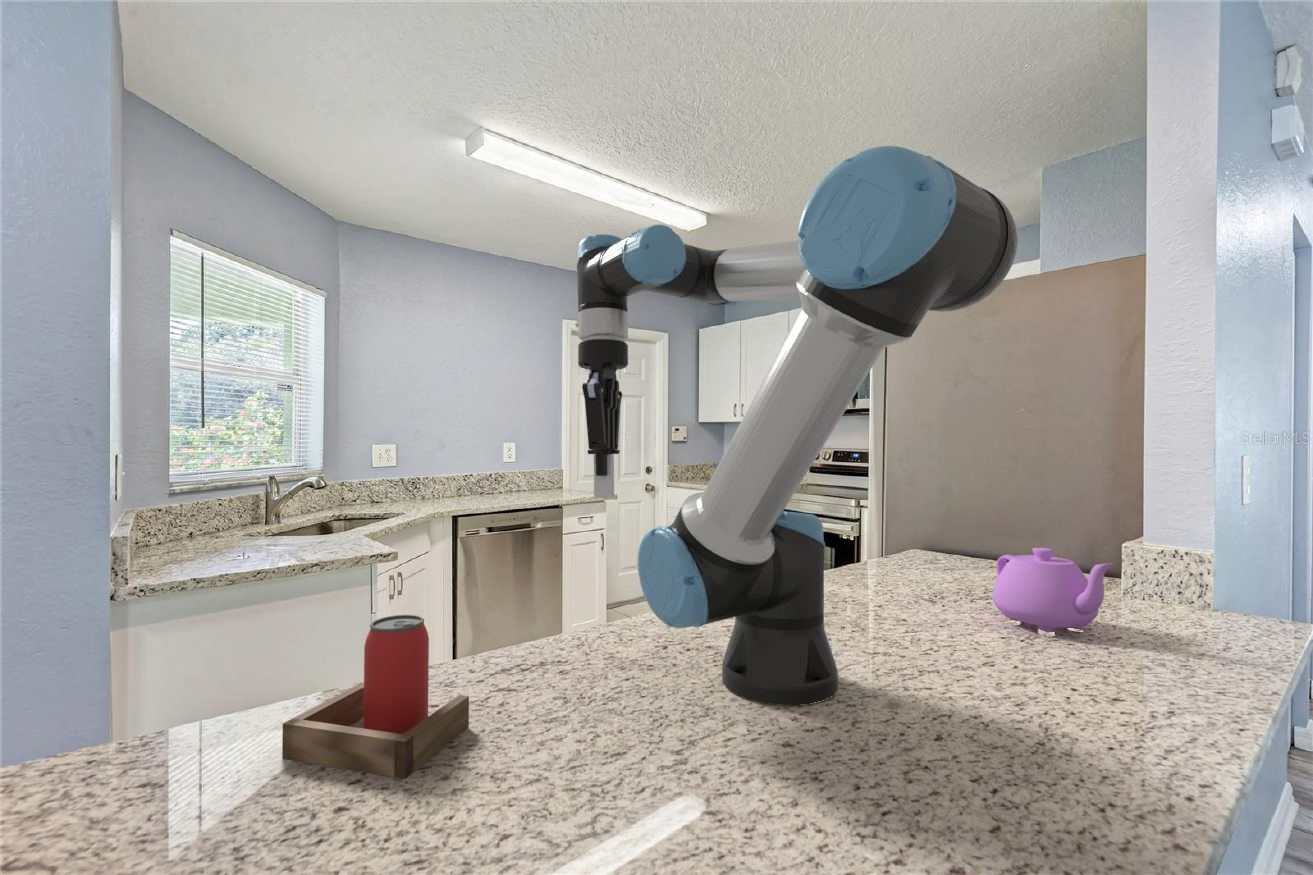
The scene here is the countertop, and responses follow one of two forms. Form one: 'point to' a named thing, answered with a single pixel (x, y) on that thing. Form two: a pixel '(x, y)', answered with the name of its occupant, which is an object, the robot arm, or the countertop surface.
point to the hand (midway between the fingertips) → (604, 497)
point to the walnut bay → (369, 736)
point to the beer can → (396, 674)
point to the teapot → (1048, 590)
